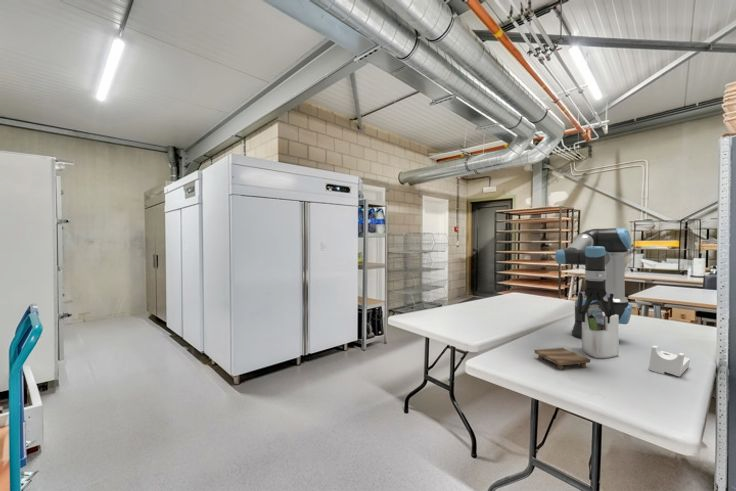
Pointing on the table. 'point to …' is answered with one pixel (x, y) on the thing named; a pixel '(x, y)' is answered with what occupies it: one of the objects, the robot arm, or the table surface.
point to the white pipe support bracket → (668, 362)
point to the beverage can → (595, 318)
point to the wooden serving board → (562, 357)
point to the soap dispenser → (602, 340)
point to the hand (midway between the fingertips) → (595, 329)
